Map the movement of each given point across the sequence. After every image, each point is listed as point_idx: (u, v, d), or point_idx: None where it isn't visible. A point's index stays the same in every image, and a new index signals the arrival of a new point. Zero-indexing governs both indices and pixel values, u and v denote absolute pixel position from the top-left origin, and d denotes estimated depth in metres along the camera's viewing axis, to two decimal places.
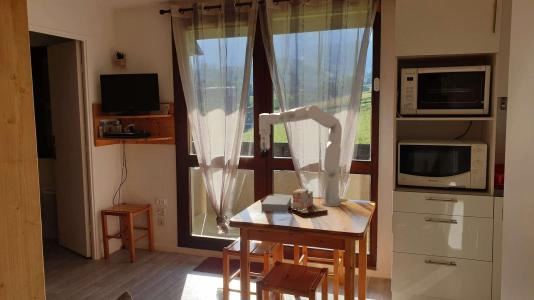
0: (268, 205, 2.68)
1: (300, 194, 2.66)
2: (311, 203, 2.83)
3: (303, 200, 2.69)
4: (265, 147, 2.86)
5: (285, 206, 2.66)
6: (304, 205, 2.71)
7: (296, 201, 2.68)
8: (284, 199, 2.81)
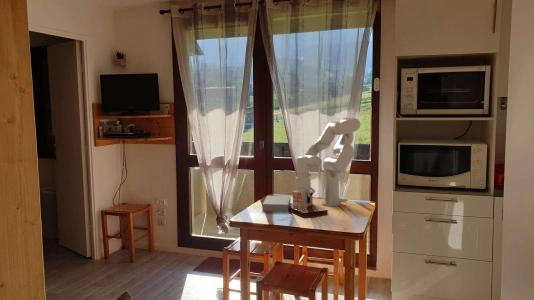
0: (269, 205, 2.68)
1: (300, 194, 2.66)
2: (311, 203, 2.83)
3: (303, 200, 2.69)
4: None
5: (286, 206, 2.66)
6: (304, 205, 2.71)
7: (296, 200, 2.68)
8: (284, 199, 2.82)
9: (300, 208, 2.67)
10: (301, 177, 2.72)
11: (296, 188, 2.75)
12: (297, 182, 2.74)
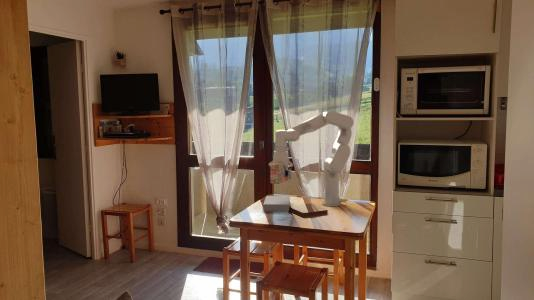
0: (270, 205, 2.67)
1: (278, 166, 2.67)
2: (289, 177, 2.84)
3: (281, 173, 2.70)
4: None
5: (287, 206, 2.67)
6: (282, 178, 2.72)
7: (274, 173, 2.69)
8: (284, 199, 2.82)
9: (277, 181, 2.68)
10: (279, 150, 2.73)
11: (274, 161, 2.76)
12: (276, 155, 2.75)
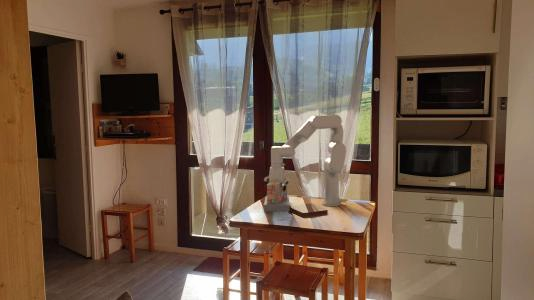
0: (271, 206, 2.67)
1: (274, 186, 2.69)
2: (285, 195, 2.86)
3: (277, 192, 2.72)
4: (283, 180, 2.79)
5: (288, 206, 2.67)
6: (278, 197, 2.74)
7: (270, 193, 2.71)
8: (284, 199, 2.82)
9: (274, 200, 2.70)
10: (275, 167, 2.74)
11: (270, 178, 2.77)
12: (272, 171, 2.76)
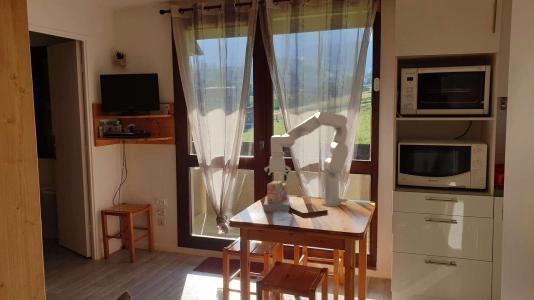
0: (271, 205, 2.67)
1: (275, 186, 2.69)
2: (285, 195, 2.87)
3: (277, 192, 2.72)
4: None
5: (288, 206, 2.67)
6: (278, 197, 2.74)
7: (271, 192, 2.71)
8: (284, 199, 2.82)
9: (274, 200, 2.70)
10: (275, 156, 2.74)
11: (271, 167, 2.77)
12: (272, 161, 2.76)
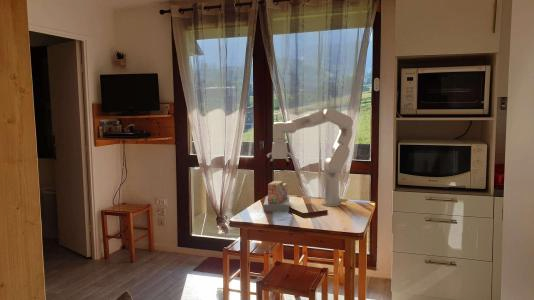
0: (270, 206, 2.67)
1: (275, 186, 2.70)
2: (286, 195, 2.87)
3: (278, 192, 2.73)
4: None
5: (287, 206, 2.67)
6: (279, 197, 2.75)
7: (271, 192, 2.71)
8: (284, 199, 2.82)
9: (275, 200, 2.71)
10: (277, 142, 2.76)
11: (273, 154, 2.78)
12: (274, 147, 2.78)
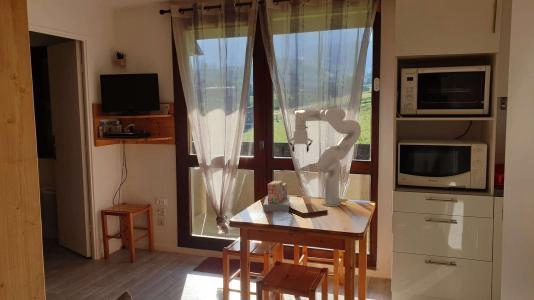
0: (270, 205, 2.67)
1: (275, 186, 2.70)
2: (285, 195, 2.87)
3: (278, 192, 2.73)
4: None
5: (287, 206, 2.67)
6: (279, 197, 2.75)
7: (271, 192, 2.71)
8: (284, 199, 2.82)
9: (275, 200, 2.71)
10: (299, 129, 2.98)
11: (294, 139, 3.01)
12: (296, 133, 3.00)
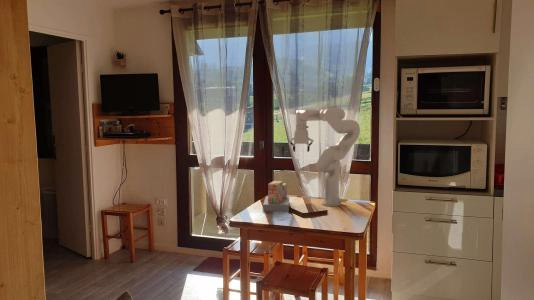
0: (270, 205, 2.67)
1: (275, 186, 2.70)
2: (285, 195, 2.88)
3: (278, 192, 2.73)
4: None
5: (287, 206, 2.67)
6: (279, 197, 2.75)
7: (271, 192, 2.71)
8: (283, 199, 2.82)
9: (275, 200, 2.71)
10: (300, 129, 2.99)
11: (295, 139, 3.02)
12: (296, 133, 3.01)
